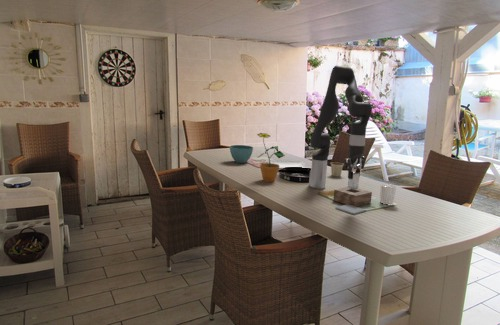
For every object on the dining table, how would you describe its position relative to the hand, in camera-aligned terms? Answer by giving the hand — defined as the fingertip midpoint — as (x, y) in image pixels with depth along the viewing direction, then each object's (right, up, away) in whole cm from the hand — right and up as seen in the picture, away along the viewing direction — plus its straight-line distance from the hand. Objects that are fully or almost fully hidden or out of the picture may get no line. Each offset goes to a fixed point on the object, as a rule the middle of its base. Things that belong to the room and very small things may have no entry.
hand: (353, 178), depth 187 cm
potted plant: (-39, -4, +57) cm, 69 cm away
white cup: (+22, -15, +17) cm, 32 cm away
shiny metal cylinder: (0, -5, +1) cm, 5 cm away
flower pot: (+9, -2, +80) cm, 80 cm away
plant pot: (-58, +8, +113) cm, 127 cm away
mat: (-1, -16, +3) cm, 16 cm away
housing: (+4, -13, +18) cm, 23 cm away
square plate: (-23, +3, +98) cm, 101 cm away
